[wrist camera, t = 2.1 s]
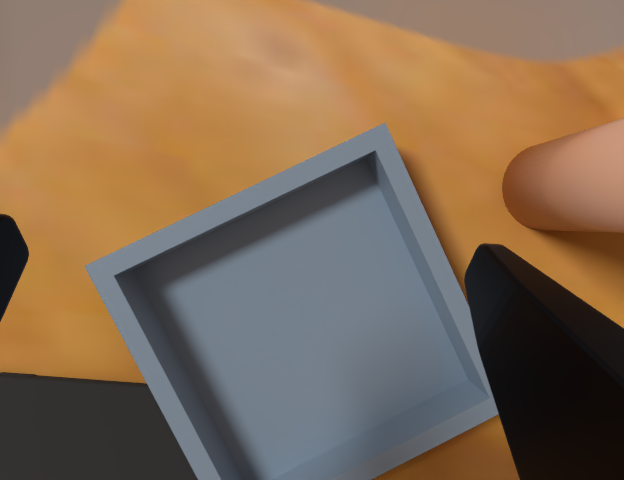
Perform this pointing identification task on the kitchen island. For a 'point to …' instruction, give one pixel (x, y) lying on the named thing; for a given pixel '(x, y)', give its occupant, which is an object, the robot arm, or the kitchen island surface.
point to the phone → (85, 431)
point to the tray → (303, 324)
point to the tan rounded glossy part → (570, 182)
